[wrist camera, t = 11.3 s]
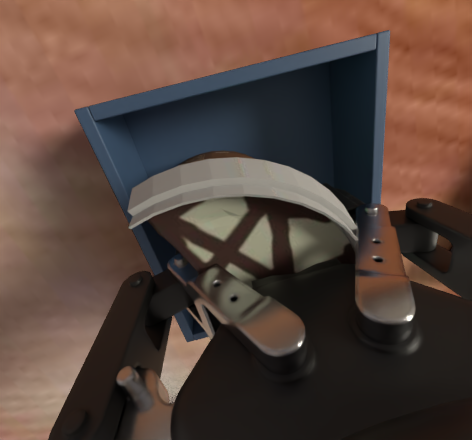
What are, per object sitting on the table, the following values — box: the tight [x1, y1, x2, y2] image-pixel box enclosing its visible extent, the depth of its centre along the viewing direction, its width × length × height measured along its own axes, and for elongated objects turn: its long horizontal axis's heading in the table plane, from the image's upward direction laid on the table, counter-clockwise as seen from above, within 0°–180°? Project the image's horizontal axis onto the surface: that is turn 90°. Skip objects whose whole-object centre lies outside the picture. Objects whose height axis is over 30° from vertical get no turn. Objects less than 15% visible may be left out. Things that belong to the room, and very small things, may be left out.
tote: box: [74, 30, 390, 342], centre depth 16 cm, size 14×15×5 cm
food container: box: [128, 150, 358, 288], centre depth 13 cm, size 12×6×10 cm, turn 33°
